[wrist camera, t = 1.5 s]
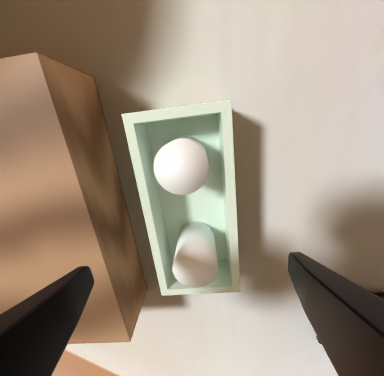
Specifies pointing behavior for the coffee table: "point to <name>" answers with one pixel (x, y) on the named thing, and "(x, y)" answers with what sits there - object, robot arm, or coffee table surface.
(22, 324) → the robot arm
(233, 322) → the coffee table surface
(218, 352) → the coffee table surface
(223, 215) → the tray
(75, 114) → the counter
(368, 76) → the coffee table surface
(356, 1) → the coffee table surface
